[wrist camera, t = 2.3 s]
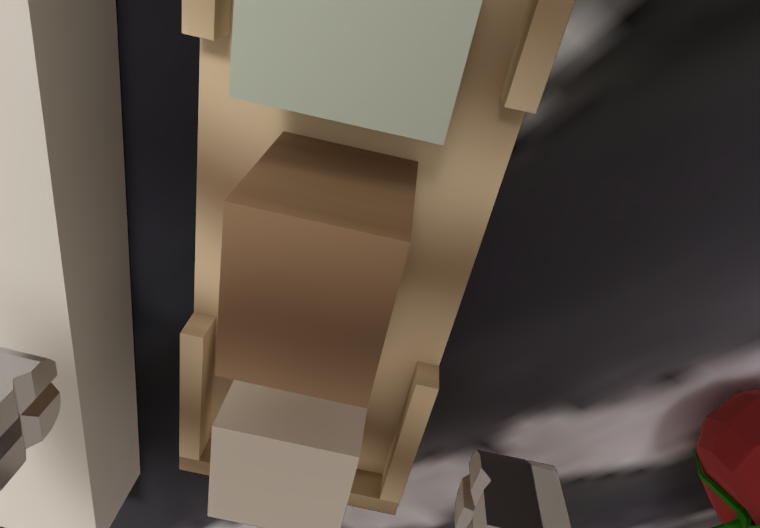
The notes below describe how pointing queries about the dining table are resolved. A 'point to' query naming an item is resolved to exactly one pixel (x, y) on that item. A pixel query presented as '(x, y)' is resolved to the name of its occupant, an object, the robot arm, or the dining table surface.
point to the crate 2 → (283, 458)
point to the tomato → (732, 460)
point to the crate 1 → (355, 60)
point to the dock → (67, 257)
